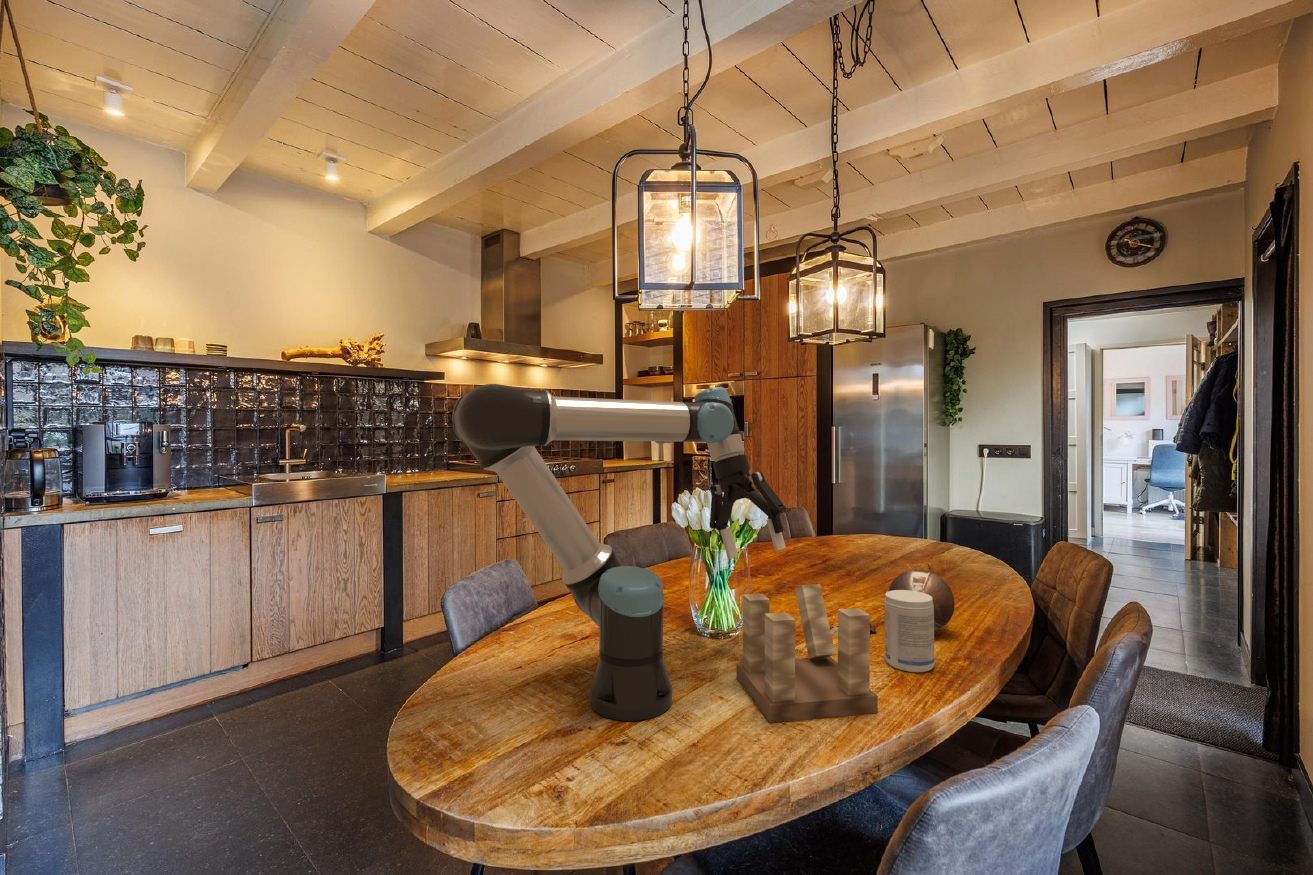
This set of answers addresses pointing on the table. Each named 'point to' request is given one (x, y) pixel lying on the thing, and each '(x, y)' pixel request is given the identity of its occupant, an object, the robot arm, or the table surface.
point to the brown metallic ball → (928, 592)
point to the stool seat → (804, 667)
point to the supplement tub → (909, 630)
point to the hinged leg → (814, 621)
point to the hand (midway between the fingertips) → (756, 553)
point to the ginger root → (835, 629)
